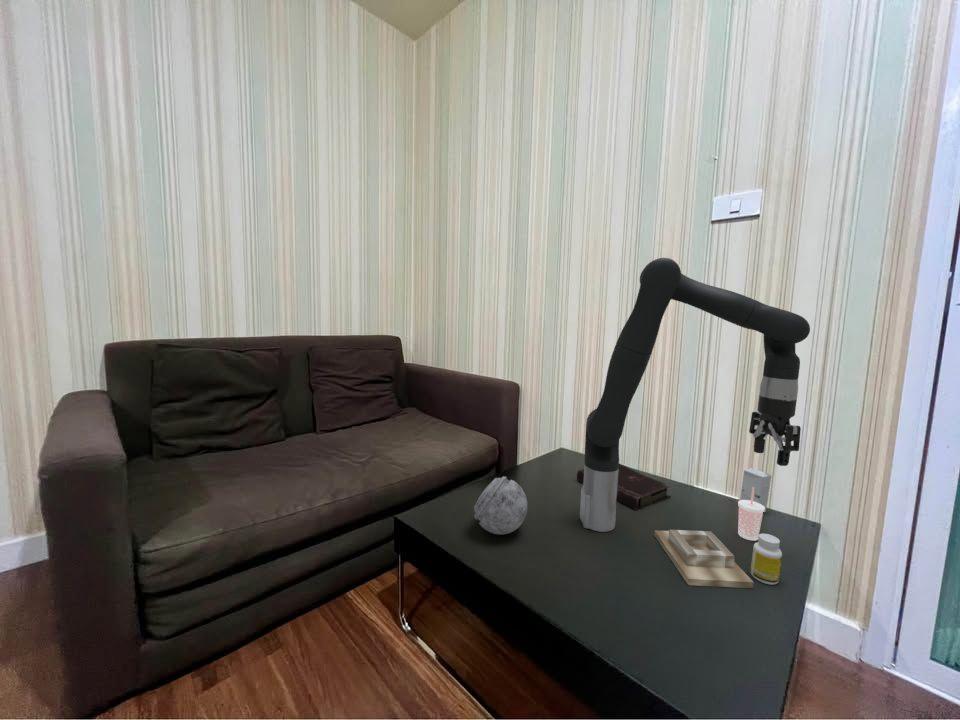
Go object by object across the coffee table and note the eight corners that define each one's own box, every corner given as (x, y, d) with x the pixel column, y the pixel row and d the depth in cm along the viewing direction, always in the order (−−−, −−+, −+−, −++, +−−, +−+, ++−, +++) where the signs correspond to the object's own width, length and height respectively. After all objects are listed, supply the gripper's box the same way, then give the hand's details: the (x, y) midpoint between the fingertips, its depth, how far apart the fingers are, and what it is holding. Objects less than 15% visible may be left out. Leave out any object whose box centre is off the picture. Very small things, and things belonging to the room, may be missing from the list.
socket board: (688, 585, 90) (690, 566, 90) (654, 535, 110) (655, 519, 110) (752, 588, 90) (754, 569, 89) (706, 537, 109) (708, 522, 109)
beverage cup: (741, 541, 108) (746, 491, 107) (730, 528, 114) (735, 481, 113) (766, 543, 107) (772, 493, 106) (754, 530, 114) (759, 483, 112)
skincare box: (738, 505, 128) (742, 469, 127) (747, 503, 130) (751, 467, 128) (758, 515, 123) (762, 476, 121) (767, 512, 124) (772, 474, 123)
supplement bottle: (783, 587, 90) (788, 546, 89) (756, 583, 91) (761, 543, 90) (771, 572, 95) (776, 533, 94) (746, 568, 97) (750, 530, 95)
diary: (635, 513, 124) (636, 498, 123) (576, 483, 145) (576, 469, 144) (672, 498, 133) (673, 484, 133) (611, 472, 154) (612, 459, 154)
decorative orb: (484, 513, 120) (485, 464, 119) (532, 523, 115) (534, 472, 113) (465, 538, 107) (466, 484, 105) (518, 551, 102) (520, 494, 100)
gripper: (744, 389, 107) (737, 448, 109) (783, 401, 93) (774, 469, 95) (772, 390, 107) (765, 449, 109) (816, 402, 92) (807, 470, 94)
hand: (769, 458), depth 102 cm, fingers open, 8 cm apart
